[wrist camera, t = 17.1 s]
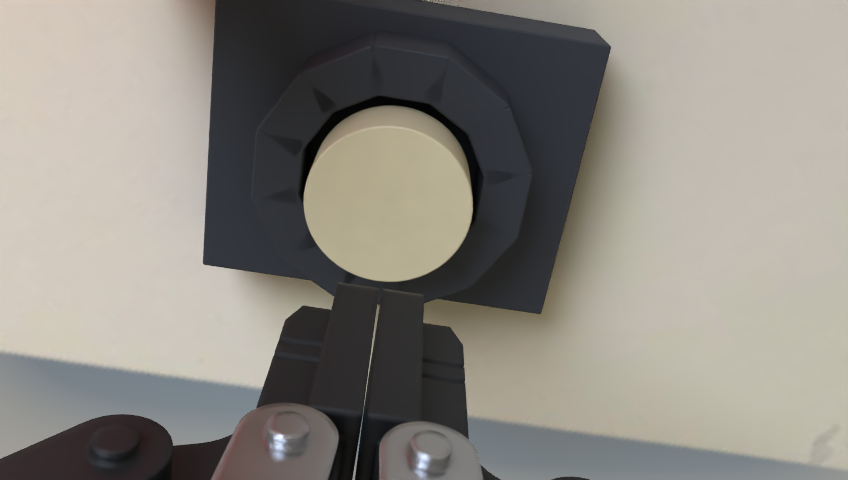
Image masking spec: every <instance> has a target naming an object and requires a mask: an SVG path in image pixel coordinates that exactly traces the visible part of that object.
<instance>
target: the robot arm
mask: <svg viewBox="0 0 848 480" xmlns="http://www.w3.org/2000/svg"><path fill="white" fill-rule="evenodd" d="M378 293H379V288H373V287H367V286H360V285H353V284H346V283H340V282H338V285H337V289H336V293H335V297H334V301H333V306H332V310H329V309H322V308H315V307H308V306H302V307H301V308H300V309H298V310H297V311H296V312H295V313H293V314H292V315H291V316H290V317H288V318H287V319H286V320H285V323H284V326H283V329H282V332H281V335H280V339H279V341H278V344H277V347H276V350H275V354H274V356H273V359H272V362H271V365H270V368H269V371H268V374H267V377H266V380H265V383H264V386H263V389H262V392H261V395H260V398H259V402H258V405H257V408H256V409H254V410H252V411H250V412H249V413H247V414H246V415H245V416H244V417H243V418H242V419H241V420H240V421H239V423H238V425H237V426H236V428H235V431H234V433H233V434H232V435H230V436H228V437H225V438H222V439H219V440H215V441H211V442H206V443H199V444H189V445H177V446H173V443H172V439H171V436H170V435H169V433H168V432H167V430H166V429H165V428H164V427H163V426H161V425H160V424H158V423H157V422H154V421H153V420H150V419H148V418H144V417H141V416H135V415H124V414H121V415H108V416H102V417H98V418H95V419H92V420H89V421H86V422H84V423H81V424H79V425H77V426H74V427H72V428H70V429H68V430H66V431H63V432H61V433H59V434H56V435H54V436H52V437H49V438H47V439H45V440H43V441H40V442H38V443H36V444H33V445H31V446H29V447H27V448H24V449H22V450H20V451H17V452H15V453H13V454H11V455H8V456H6V457H4V458H2V459H0V480H352V478H353V471H354V465H355V459H356V452H357V446H358V440H359V434H360V427H361V421H362V415H363V422H362V430H361V437H360V445H359V452H358V461H357V468H356V476H355V480H500V479H498V478H497V477H495V476H494V475H492V474H491V473H489V472H488V471H487V470H486V469H485V468H483V466H481V464H480V459H479V456H478V453H477V451H476V449H475V447H474V446H473V444H472V443H471V442H470V441H469V438H468V422H467V405H466V389H465V383H464V382H465V373H464V356H463V345H462V343H461V342H460V341H459V339H458V338H457V336H456V335H455V334H454V332H453V331H452V329H451V328H450V327H446V326H439V325H433V324H426V323H423V312H424V295H422V294H415V293H408V292H401V291H395V290H388V289H383V290H382V296H381V302H380V308H379V315H378V321H377V327H376V333H375V340H374V346H373V352H372V358H371V365H370V371H369V378H368V385H367V377H368V369H369V362H370V354H371V347H372V339H373V331H374V324H375V316H376V309H377V301H378ZM366 385H367V391H366ZM365 392H366V399H365ZM364 400H365V406H364ZM363 407H364V414H363ZM553 480H589V479H585V478H580V477H560V478H555V479H553Z"/></svg>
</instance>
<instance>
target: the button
mask: <svg viewBox="0 0 848 480" xmlns="http://www.w3.org/2000/svg"><path fill="white" fill-rule="evenodd" d="M303 205H304V214H305V218H306V222H307V226H308V228H309V230H310V233H311V235H312V237H313V239H314V240H315V242H316V244H317V245H318V246H319V248H320V249H321V250H322V251H323V253H324V254H325V255H326V256H327V257H328V258H329V259H330V260H332V261H333V262H334V263H335V264H337V265H338V266H340V267H341V268H343V269H344V270H346V271H348V272H350V273H352V274H354V275H356V276H359V277H363V278H366V279H370V280H375V281H383V282H398V281H405V280H410V279H414V278H418V277H421V276H423V275H426V274H428V273H430V272H432V271H433V270H435V269H437V268H438V267H440V266H441V265H443V264H444V263H445V262H446V261H448V260H449V259H450V258H451V257H452V256H453V255H454V254H455V252H456V251H457V250H458V249H459V247H460V246H461V244H462V243H463V241H464V239H465V237H466V235H467V233H468V230H469V227H470V224H471V220H472V213H473V197H472V188H471V180H470V173H469V166H468V162H467V159H466V156H465V153H464V151H463V149H462V147H461V145H460V144H459V142H458V140H457V139H456V138H455V136H454V135H453V134H452V133H451V132H450V130H449V129H447V128H446V127H445V126H444V125H443V124H442V123H441V122H439V121H438V120H436V119H435V118H433V117H432V116H430V115H428V114H426V113H424V112H421V111H419V110H416V109H413V108H408V107H404V106H395V105H385V106H376V107H371V108H367V109H364V110H361V111H359V112H356V113H354V114H352V115H350V116H349V117H347V118H345V119H344V120H342V121H341V122H340V123H339V124H337V125H336V126H335V127H334V128H333V129H332V130H331V131H330V133H329V134H328V135H327V136H326V138H325V139H324V141H323V142H322V144H321V146H320V148H319V150H318V152H317V155H316V157H315V160H314V162H313V165H312V168H311V170H310V173H309V175H308V178H307V181H306V185H305V190H304V203H303Z"/></svg>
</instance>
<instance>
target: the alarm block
mask: <svg viewBox="0 0 848 480" xmlns="http://www.w3.org/2000/svg"><path fill="white" fill-rule="evenodd" d="M610 49H611V46H610V45H609V44H608V43H607V42H606V41H605V40H604V39H603V38H602V37H601V36H600V35H599V34H598V33H597V32H596V31H595V30H591V29H585V28H579V27H573V26H567V25H562V24H556V23H550V22H544V21H538V20H532V19H526V18H520V17H514V16H509V15H503V14H497V13H491V12H485V11H479V10H473V9H467V8H462V7H456V6H450V5H444V4H438V3H432V2H426V1H420V0H216V7H215V27H214V48H213V68H212V89H211V109H210V130H209V151H208V171H207V192H206V212H205V233H204V253H203V264H204V265H210V266H217V267H224V268H231V269H237V270H244V271H251V272H258V273H265V274H271V275H278V276H285V277H292V278H299V279H306V280H311V281H313V282H314V283H316V284H317V285H319V286H320V287H322V288H323V289H324V290H326V291H327V292H329V293H330V294H332V295H333V296H335V293H336V289H337V285H338V282H340V283H346V284H353V285H360V286H367V287H373V288H379V293H378V301H377V304H378V305H380V302H381V296H382V290H383V289H388V290H395V291H401V292H408V293H415V294H422V295H424V303H426V302H429V301H432V300H435V299H442V300H448V301H455V302H462V303H469V304H476V305H482V306H489V307H496V308H503V309H510V310H517V311H523V312H530V313H537V314H541V312H542V308H543V304H544V300H545V297H546V293H547V289H548V285H549V281H550V278H551V274H552V270H553V266H554V262H555V259H556V255H557V251H558V247H559V243H560V240H561V236H562V232H563V228H564V224H565V221H566V217H567V213H568V209H569V205H570V201H571V198H572V194H573V190H574V186H575V182H576V179H577V175H578V171H579V167H580V163H581V160H582V156H583V152H584V148H585V144H586V141H587V137H588V133H589V129H590V125H591V122H592V118H593V114H594V110H595V106H596V102H597V99H598V95H599V91H600V87H601V83H602V80H603V76H604V72H605V68H606V64H607V61H608V57H609V53H610ZM385 105H395V106H404V107H408V108H413V109H416V110H419V111H421V112H424V113H426V114H428V115H430V116H432V117H433V118H435V119H436V120H438V121H439V122H441V123H442V124H443V125H444V126H445V127H446V128H447V129H449V130H450V132H451V133H452V134H453V135H454V136H455V138H456V139H457V140H458V142H459V144H460V145H461V147H462V149H463V151H464V153H465V156H466V159H467V162H468V166H469V173H470V180H471V188H472V197H473V213H472V220H471V224H470V227H469V230H468V233H467V235H466V237H465V239H464V241H463V243H462V244H461V246H460V247H459V249H458V250H457V251H456V252H455V254H454V255H453V256H452V257H451V258H450V259H449V260H448V261H446V262H445V263H444V264H443V265H441V266H440V267H438V268H437V269H435V270H433V271H432V272H430V273H428V274H426V275H423V276H421V277H418V278H414V279H410V280H405V281H398V282H383V281H375V280H370V279H366V278H363V277H359V276H356V275H354V274H352V273H350V272H348V271H346V270H344V269H343V268H341V267H340V266H338V265H337V264H335V263H334V262H333V261H332V260H330V259H329V258H328V257H327V256H326V255H325V254H324V253H323V251H322V250H321V249H320V248H319V246H318V245H317V244H316V242H315V240H314V239H313V237H312V235H311V233H310V230H309V228H308V226H307V222H306V218H305V214H304V205H303V203H304V190H305V185H306V181H307V178H308V175H309V173H310V170H311V168H312V165H313V162H314V160H315V157H316V155H317V152H318V150H319V148H320V146H321V144H322V142H323V141H324V139H325V138H326V136H327V135H328V134H329V133H330V131H331V130H332V129H333V128H334V127H335V126H336V125H337V124H339V123H340V122H341V121H342V120H344V119H345V118H347V117H349V116H350V115H352V114H354V113H356V112H359V111H361V110H364V109H367V108H371V107H376V106H385Z"/></svg>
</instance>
